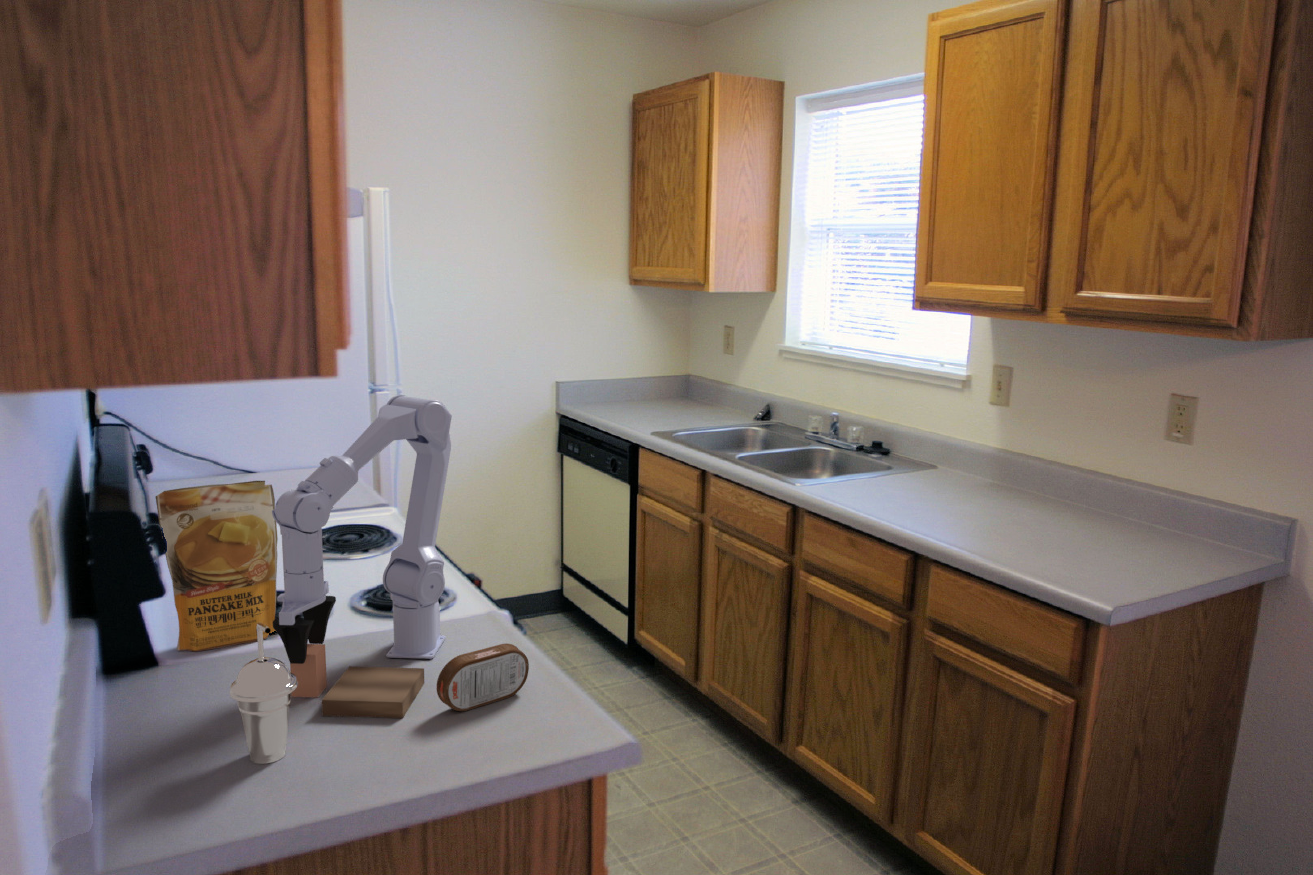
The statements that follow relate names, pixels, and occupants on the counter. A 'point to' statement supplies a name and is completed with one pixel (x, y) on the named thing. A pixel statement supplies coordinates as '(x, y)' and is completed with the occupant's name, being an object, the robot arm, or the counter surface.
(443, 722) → the counter surface
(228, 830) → the counter surface
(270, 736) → the cup with straw
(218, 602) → the pancake mix bag
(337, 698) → the walnut base
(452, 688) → the tin
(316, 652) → the terracotta block
